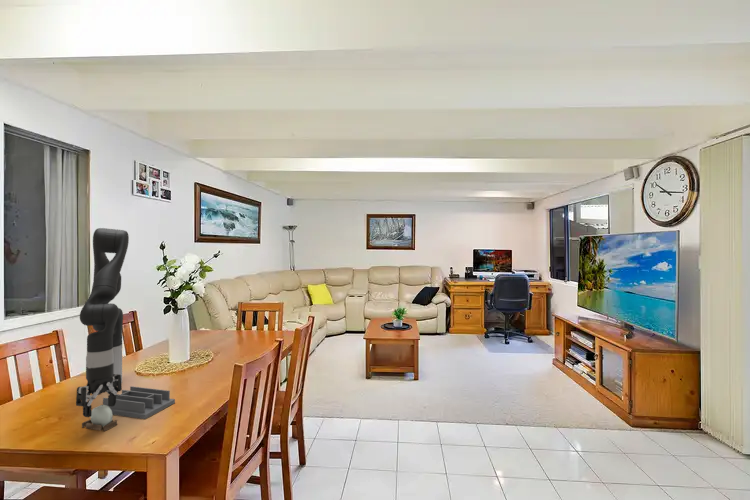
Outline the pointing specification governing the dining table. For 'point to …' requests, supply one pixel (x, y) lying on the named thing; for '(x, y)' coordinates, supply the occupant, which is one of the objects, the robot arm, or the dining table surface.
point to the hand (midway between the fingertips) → (99, 411)
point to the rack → (140, 402)
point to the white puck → (101, 415)
